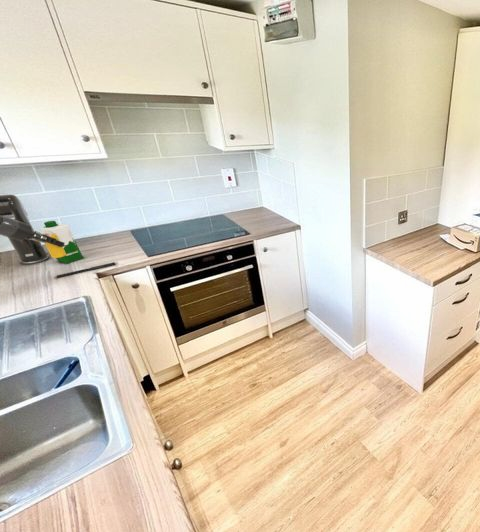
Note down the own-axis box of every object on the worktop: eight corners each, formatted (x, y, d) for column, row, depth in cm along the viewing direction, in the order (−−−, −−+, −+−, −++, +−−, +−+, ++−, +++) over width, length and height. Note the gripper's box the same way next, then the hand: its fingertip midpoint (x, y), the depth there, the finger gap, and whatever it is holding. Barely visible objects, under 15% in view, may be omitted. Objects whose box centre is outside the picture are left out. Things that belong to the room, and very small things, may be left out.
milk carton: (75, 254, 169) (57, 218, 160) (86, 257, 167) (69, 221, 157) (54, 261, 162) (35, 224, 152) (66, 264, 159) (47, 226, 150)
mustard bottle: (52, 255, 148) (39, 232, 143) (66, 252, 151) (55, 229, 146) (51, 259, 145) (39, 235, 140) (66, 256, 148) (54, 232, 142)
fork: (57, 276, 149) (56, 275, 149) (114, 263, 162) (114, 262, 162) (57, 278, 147) (56, 277, 147) (115, 264, 160) (115, 263, 160)
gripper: (27, 222, 131) (74, 238, 146) (4, 217, 134) (52, 234, 150) (16, 238, 128) (65, 254, 144) (-6, 234, 132) (44, 249, 148)
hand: (59, 244), depth 147 cm, fingers closed on mustard bottle, 4 cm apart
